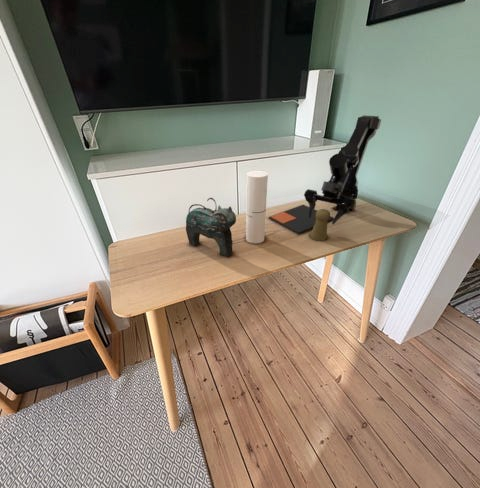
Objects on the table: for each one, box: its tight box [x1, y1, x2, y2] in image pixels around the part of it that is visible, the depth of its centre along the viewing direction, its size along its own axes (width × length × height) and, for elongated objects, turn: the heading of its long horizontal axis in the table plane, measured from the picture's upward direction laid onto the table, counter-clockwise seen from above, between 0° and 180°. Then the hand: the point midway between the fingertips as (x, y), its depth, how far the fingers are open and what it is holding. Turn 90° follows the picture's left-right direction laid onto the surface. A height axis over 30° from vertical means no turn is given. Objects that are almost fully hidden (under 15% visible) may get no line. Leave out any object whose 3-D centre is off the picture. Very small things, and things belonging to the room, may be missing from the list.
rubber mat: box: [268, 204, 334, 235], centre depth 114 cm, size 22×18×1 cm
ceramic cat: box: [185, 197, 237, 258], centre depth 89 cm, size 20×6×20 cm, turn 59°
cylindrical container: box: [245, 170, 269, 244], centre depth 93 cm, size 7×7×25 cm
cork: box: [310, 208, 331, 241], centre depth 98 cm, size 6×6×11 cm
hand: (320, 220), depth 96 cm, fingers open, 9 cm apart
